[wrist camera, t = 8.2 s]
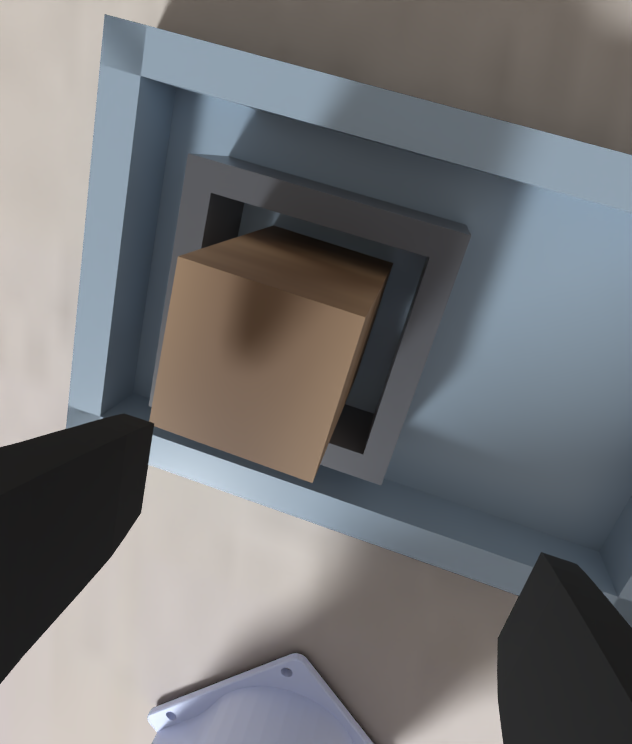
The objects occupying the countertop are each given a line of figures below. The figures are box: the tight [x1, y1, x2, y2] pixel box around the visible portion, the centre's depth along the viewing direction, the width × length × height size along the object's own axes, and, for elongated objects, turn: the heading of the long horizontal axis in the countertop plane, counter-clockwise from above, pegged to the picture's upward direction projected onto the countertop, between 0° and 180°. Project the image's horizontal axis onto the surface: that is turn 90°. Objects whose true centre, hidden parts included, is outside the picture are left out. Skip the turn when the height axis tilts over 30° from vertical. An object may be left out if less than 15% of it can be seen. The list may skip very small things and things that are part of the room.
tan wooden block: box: [149, 225, 393, 483], centre depth 15 cm, size 4×4×7 cm
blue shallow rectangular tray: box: [66, 14, 632, 627], centre depth 17 cm, size 20×13×3 cm, turn 77°
